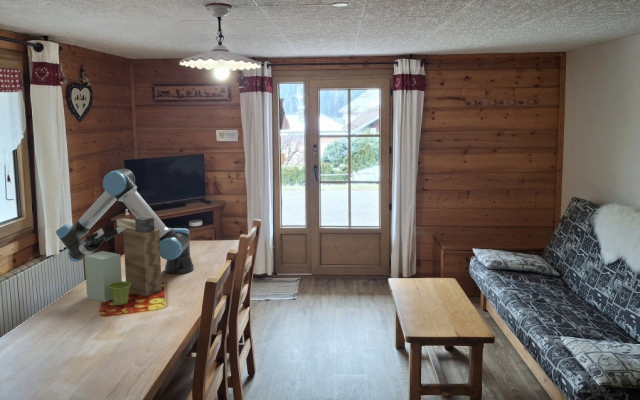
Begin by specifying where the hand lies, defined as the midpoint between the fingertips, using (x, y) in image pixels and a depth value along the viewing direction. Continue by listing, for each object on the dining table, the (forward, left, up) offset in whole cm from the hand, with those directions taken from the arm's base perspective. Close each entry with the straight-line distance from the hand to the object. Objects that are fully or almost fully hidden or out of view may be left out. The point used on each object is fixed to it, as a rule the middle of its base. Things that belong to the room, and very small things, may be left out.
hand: (113, 228), depth 272 cm
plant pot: (+17, +22, -29) cm, 40 cm away
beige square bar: (-1, +13, +1) cm, 13 cm away
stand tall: (0, +18, -29) cm, 34 cm away
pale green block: (+15, +9, -29) cm, 34 cm away
